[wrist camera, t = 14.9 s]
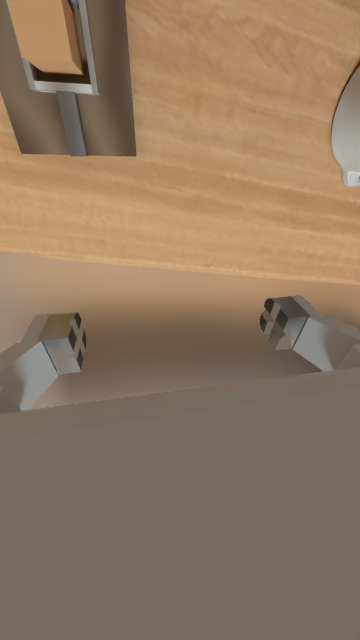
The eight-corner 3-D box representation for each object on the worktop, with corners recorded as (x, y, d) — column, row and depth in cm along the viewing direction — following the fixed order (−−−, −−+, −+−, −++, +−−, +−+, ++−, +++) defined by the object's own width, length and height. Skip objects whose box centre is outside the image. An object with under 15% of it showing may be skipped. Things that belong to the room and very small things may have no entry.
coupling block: (75, 17, 22) (57, -20, 17) (85, 76, 25) (72, 60, 19) (31, 13, 22) (-1, -27, 16) (46, 74, 24) (21, 56, 19)
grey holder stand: (117, -99, 20) (114, -135, 17) (136, 155, 31) (136, 157, 28) (-67, -133, 18) (-102, -180, 15) (25, 152, 29) (15, 154, 26)
